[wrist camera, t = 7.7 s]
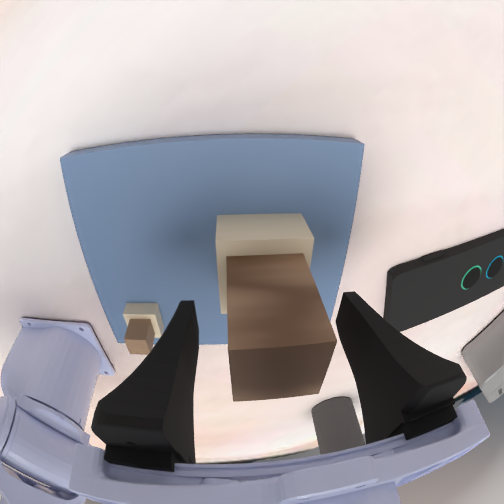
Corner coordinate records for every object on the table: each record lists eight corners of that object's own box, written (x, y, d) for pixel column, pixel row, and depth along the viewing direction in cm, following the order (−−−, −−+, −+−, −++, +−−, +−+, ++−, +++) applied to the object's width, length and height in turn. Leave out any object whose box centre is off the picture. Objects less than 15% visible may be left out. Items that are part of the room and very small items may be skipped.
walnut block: (229, 312, 17) (233, 401, 12) (226, 256, 15) (228, 349, 10) (296, 308, 17) (318, 393, 12) (303, 253, 15) (337, 340, 10)
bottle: (335, 393, 33) (362, 497, 20) (359, 399, 35) (387, 491, 22) (302, 412, 35) (321, 509, 22) (328, 417, 37) (349, 504, 25)
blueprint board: (121, 330, 24) (109, 371, 20) (70, 151, 15) (31, 175, 11) (321, 324, 25) (335, 366, 21) (354, 138, 16) (391, 158, 12)
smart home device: (514, 282, 24) (386, 339, 26) (506, 274, 26) (380, 326, 27) (531, 225, 20) (394, 275, 21) (522, 217, 21) (385, 263, 22)
